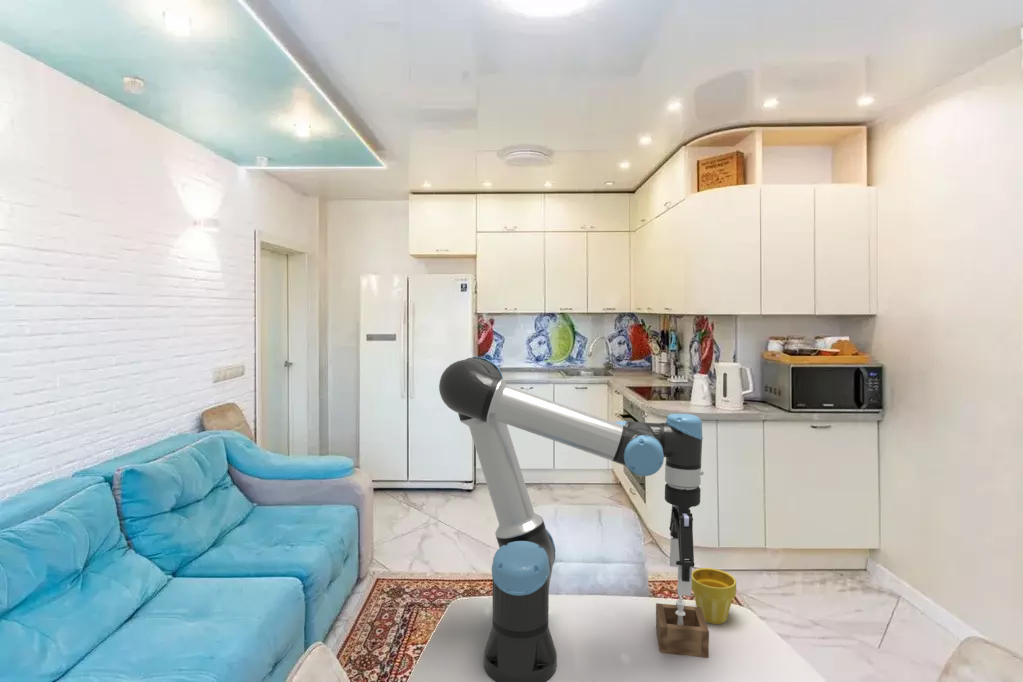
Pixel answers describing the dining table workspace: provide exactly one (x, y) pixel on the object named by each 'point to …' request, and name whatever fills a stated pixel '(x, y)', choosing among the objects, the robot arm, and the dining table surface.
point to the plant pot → (713, 593)
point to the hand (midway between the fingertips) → (679, 579)
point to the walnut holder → (682, 631)
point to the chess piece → (680, 610)
